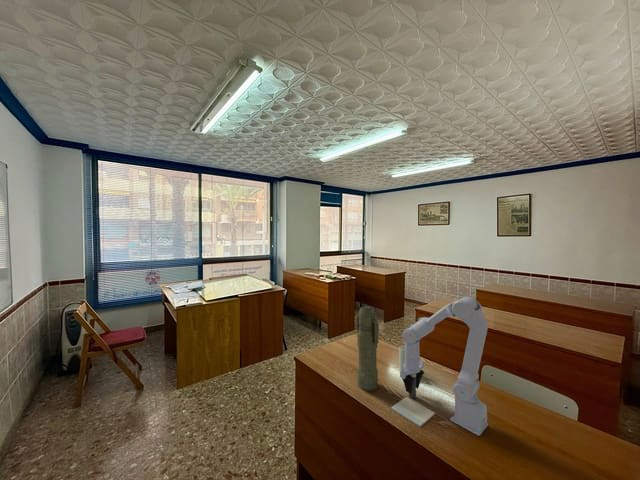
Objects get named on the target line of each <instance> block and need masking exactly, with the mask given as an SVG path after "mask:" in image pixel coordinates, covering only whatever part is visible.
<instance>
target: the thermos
mask: <svg viewBox="0 0 640 480" xmlns="http://www.w3.org/2000/svg"><path fill="white" fill-rule="evenodd" d="M379 325H380V324H379V322H378V320H377V312H376V310H375V307H373V306H371V305H363V306H361V307H359V311H358V315H357V317H356V334H357V335H356V337H357V348H358V367H357V385H358V387H359V388H360V389H361V390H362V391H366V392H373V391H376V390H377V389H378V387H379V386H378V382H379V371H378V368H377V363H378V362H377V349H378V343H379V331H380V330H379Z"/></svg>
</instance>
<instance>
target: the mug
mask: <svg viewBox="0 0 640 480" xmlns="http://www.w3.org/2000/svg"><path fill="white" fill-rule="evenodd" d="M398 357H399V359H398V362H399V363H398V365H399V367H398V369H399V373H400V372H401V371H402V370H403V368H404V367H403V364H404V363H405V345H400V346H399V347H398Z"/></svg>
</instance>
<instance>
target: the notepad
mask: <svg viewBox="0 0 640 480" xmlns="http://www.w3.org/2000/svg"><path fill="white" fill-rule="evenodd" d="M391 411H394V412H396V413H397V414H399V415H401V416H402V417H404V419H407V420H409V421H410V422H412V423H413V424H415V425H416V426H418V427H420V428H421V427H422V426H423V425H424V424H425V423H427V422H428V421H430V420H431V418H432V417H434V416H435V414H436V412H434V411H433V410H431V409H428V408H427V407H425V406H423V405H422V404H420V403H418V402H417V401H414V399H411V398H410V397H407V396H406V397H404V398H403V399H402V398H401V400H399V401H398V402H397V403H394V405H392V406H391Z"/></svg>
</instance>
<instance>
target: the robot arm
mask: <svg viewBox="0 0 640 480" xmlns="http://www.w3.org/2000/svg"><path fill="white" fill-rule="evenodd" d="M449 317H451V318H455V317H457V318H458V319H459V320H461V321H462V323H463V322H464V324H466V325H467V327H468V328H469V331H468V337H467V340H466V345H465V351H464V356H463V361H462V365H461V369H460V372H459V374H458V377H457V381H456V382H454V383H453V385H452V392H453V394H454V414H453V416H451V418H450V421H451V422H453V423H454V424H457V425H458V426H460V427H461V428H463V429H465V430H467V431H469V432H471V433H472V434H474V435H476V436H481V435H482V433H483V432H485V430H486V428H487V427H488V426H489V423H488V406H487V405H486V404H485V403H484V402H482V401H481V400H480V399H479V396H478V394H477V393H478V391H479V389H480V387H481V385H480V382H479V373H478V372H479V369H480V364H481V360H482V356H483V352H484V346H485V342H486V338H487V337H486V336H487V335H488V334H487V333H488V328H489V326H488V322H487V320H486V317H485V314H484V312H483V307H482V305H481V303H480V302H479V301H478V300H477V299H475V298H474V297H472V296H470V295H466V296H463V297H461V298H460V299H457V300H455V301H453V302H450V303H449V304H446V305H444V306H443V307H442V308H440V309H439V310H438V311H436V312H435V313H434V314H432V315H431V316H430V317H426V316H423V317H419V318H418V319H417V320H418V321H416V322H414V324H413V323H412V324H410V325H409V327H408V328H406V329H403V331H402V334H401V336H402V340H403V341H404V346H405V363H404V364H403V367H404V368H403V370H402V371H401V372H400V371H399V378H401V380H402V381H403V384H404V385H403V386H404V388H405V392H406V393H408V394H409V393H410V394H411V393H412V386H413V382H414V380H415V378H413V377H411V376H410V374H415V373H416V390H417V389H419V388H420V384H421V380H422V377H423V375H424V374H425V371H424V370H422V369H423V368H424V367H425V366H424V362H422V361H420V360H421V359H420V358H421V357H420V340H421V339H422V338H424V337H425V336H427V335H428V334H431V333H432V332H433V331H434V330H435V325H437V324H438V323H440V322H441V321H443V320H445V319H446V318H449Z"/></svg>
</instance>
